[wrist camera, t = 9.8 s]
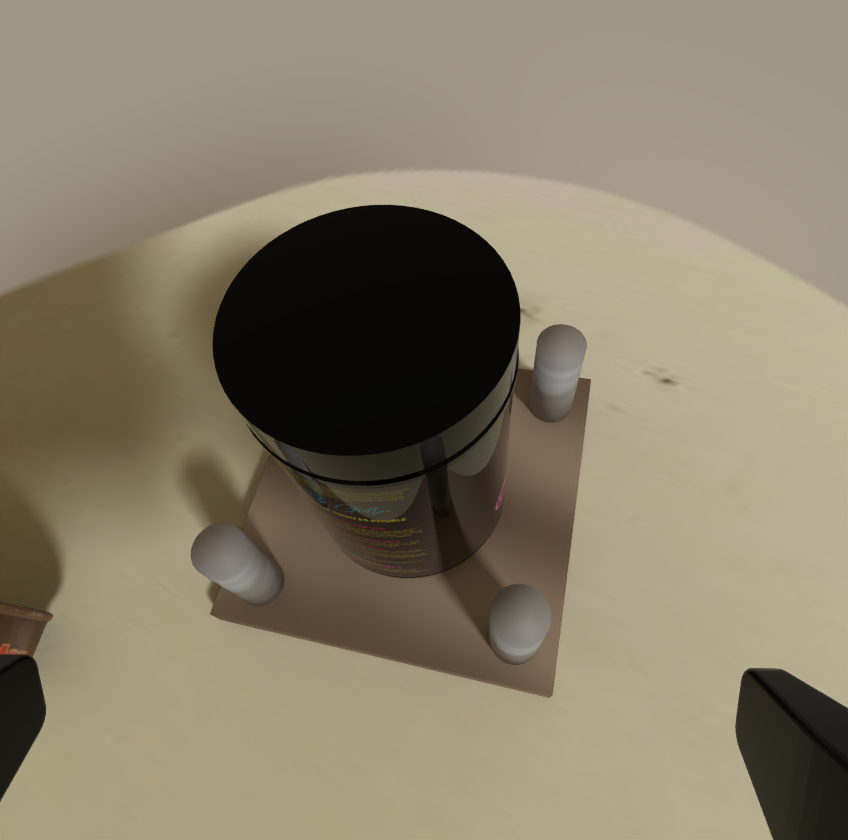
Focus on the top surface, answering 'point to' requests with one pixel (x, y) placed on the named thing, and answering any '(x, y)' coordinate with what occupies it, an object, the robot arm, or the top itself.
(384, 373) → the supplement container
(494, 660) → the cradle
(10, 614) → the tin
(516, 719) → the top surface
